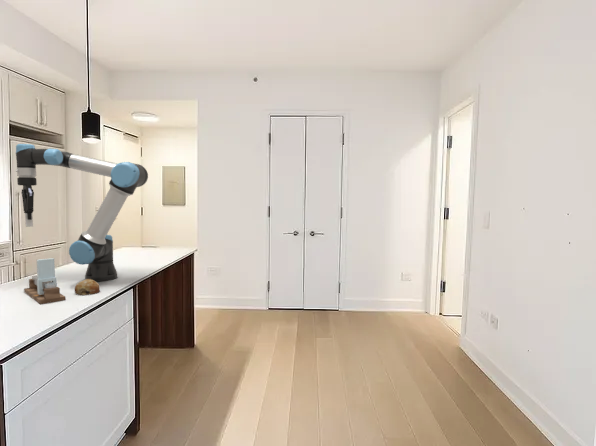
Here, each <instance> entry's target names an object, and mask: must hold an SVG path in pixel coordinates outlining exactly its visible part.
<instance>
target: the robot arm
mask: <svg viewBox="0 0 596 446" xmlns="http://www.w3.org/2000/svg"><path fill="white" fill-rule="evenodd" d="M15 158H16V169H15V171H14V172H16V174H17V176H18V177H17V178H16V179H17V185H18V186H22V189H21V193H20V194H21V198H22V207H23V209H22V210H23V213H24V220H25V221H24V223H25V224H24V225H25V228H27V227H34V223H33V222H34V219H33V212H34V211H35V210H34V201H35V200H34V197H35V192H34V189H33V187H32V186H34V187H35V186H37V185H38V183H37V167H36V166H37V165H38V166H41V165H44V166H45V165H46V166H54V167H55V166H56V167H63V168H68V169H73V170H77V171H81V172H86V173H91V174H94V175H95V174H96V175H99V176H104V177H109V178H110V180H109V182H108V186H109V190H108V191H107V193H106V195H105V197H104V199H103V201H102V202H101V204H100V206H99V208H98V210H97V212H96V213H95V215H94V217H93V219H92V221H91V223H90V224H89V227H88V228H87V230H85V231H81V234H80V235H79V237H78V239H77V240H76V241H74V242H73V243H71V244H70V246H69V247H68V254H69V257H70V259H71V260H72V261H73V262H74V263H75V264H77V265H81V266H82V265H87V268H86V271H85V274H84V280H86V279H91V280H94V281H95V282H105V281H107V282H108V281H111V280H115V279H117V278H118V271H117V269H116V267H115V264H114V250H113V249H114V240H113V236H112V235H111V234H109V231H110V230H111V228H112V226H113V224H114V222H115V221H116V219H117V217H118V215H119V214H120V211H122V208H123V206H124V204H125V202H126V201H127V199H128V197H129V196H133V195H134V193H135V191H136V189H137V188H139V187H142V186H144V185H145V184H146V183H147V182H148V178H149V174H148V173H149V172H148V171H147V168H145V167H144V166H143V165H142V164H140V163H139V164H138V163H133V162H130V161H124V162H123V161H122V162H119V163H116V162H112V161H107V160H105V159H104V160H102V159H98V158H93V157H90V156H89V157H88V156H85V155H81V154H80V155H79V154H75V153H70V152H68V151H61V150H60V149H58V148H36V146H35V145H34V144H31V143H18V144H16V146H15Z"/></svg>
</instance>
